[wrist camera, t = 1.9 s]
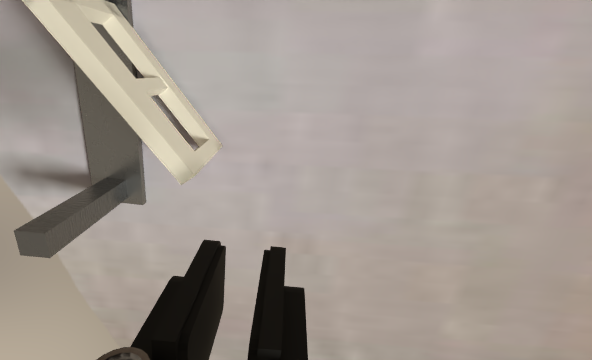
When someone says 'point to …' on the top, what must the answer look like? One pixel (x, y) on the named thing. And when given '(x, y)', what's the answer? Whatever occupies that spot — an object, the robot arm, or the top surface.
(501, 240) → the top surface
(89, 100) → the gate frame
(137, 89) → the gate
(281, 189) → the top surface
